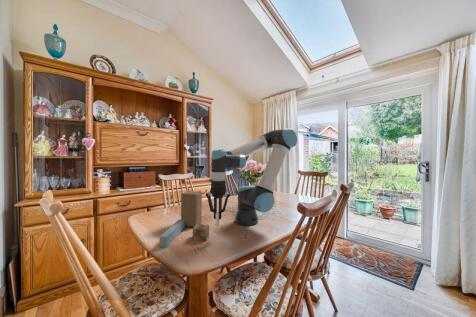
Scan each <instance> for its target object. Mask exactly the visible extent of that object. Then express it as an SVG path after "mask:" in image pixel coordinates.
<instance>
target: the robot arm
mask: <svg viewBox="0 0 476 317" xmlns="http://www.w3.org/2000/svg"><path fill="white" fill-rule="evenodd" d="M297 144H298V136H297V133H296V131H295V130H294V129H292V128H283V129H281V128H280V129H273V130H271V131H268V132H266V133H264V134H262V135H260V136H258V137H257V138H256V139H254V140H252V141H250V142H247V143H245V144H243V145H241V146H238V147H236V148H234V149H231V150H230V151H227V150H223V149H213V150H212V151H211V158H210V159H211V160H210V161H211V166H210V168H211V169H210V178H211V180H210V190H209V191H207V192H206V193H205V197H206V198H207V202H208V207H209V211H210V212H211V213H213V219H214V220H215V227H219V226H220V220H222V213H225V212H226V208H227V205H228V201H229V197H230V196H231V193H229V192H228V191H227V189H226V176H227V175H226V172H227V169H243V168H245V167H246V165H247V158H246V157H248V156H251V155H253V154H255V153H257V152H259V151H262V150H265V151H266V150H267V149H270V148H271V149H272V150H271V153H270V156H269V158H268V160H267V162H266V163H267V164H266V165H265V168H264V170H263V173H262V175H261V178H260V181H259V183H258V184H256V185H244V186H239V187H238V188H237V211H236V214H235V216H234V223H236V224H237V225H241V226H254V225H257V224H258V223H259V216H258V213H257V212H259V213H267V212H269V211H271V209H273V207H274V205H275V203H276V202H275V196H274V194H275V192H274V186H275V183H276V182H277V179H278V176H279V172H280V170H281V168H282V165H283V162H284V159H285V157H286V155H287V154H289V153H290V151H291V148H294V147H296V145H297ZM211 196H212V197H213V200H212V197H211ZM224 196H225V199H224V202H223V198H224ZM222 204H223V205H222Z"/></svg>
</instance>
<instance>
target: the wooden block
mask: <svg viewBox="0 0 476 317" xmlns="http://www.w3.org/2000/svg"><path fill="white" fill-rule="evenodd" d="M202 193H203V192H202V191H199V190H197V191H196V190H187V191H185V192H181V193H180V220H184V227H189V228H190V227H192V228H194V227H195V226H196V224H201V223H202V221H203V220H202V216H203V214H202V213H203V212H202V209H203V208H202V206H203V204H202V203H203V201H202V200H203V199H202V198H203V197H202Z"/></svg>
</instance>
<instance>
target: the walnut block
mask: <svg viewBox="0 0 476 317" xmlns="http://www.w3.org/2000/svg"><path fill="white" fill-rule="evenodd" d="M209 236H210V224H201V223H200V224H196V226H195V227H192V241H198V242H199V241H200V242H207V240H208V239H209Z"/></svg>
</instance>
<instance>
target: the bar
mask: <svg viewBox="0 0 476 317" xmlns="http://www.w3.org/2000/svg"><path fill="white" fill-rule="evenodd" d="M184 229H185V226H184V220H181V219H178V220H177V221H175V222H174V223H173V224H172V225H171V226H170V227H169V228H168V229H167V230H165V231H164V232H163V233H162V234H161V235H159V248H168V247H169V246H170V245H171V244H172V242H173V241H174V240H175V239H176V238H177V237H178V236H179V235H180V234H181V232H182V231H184Z"/></svg>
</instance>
